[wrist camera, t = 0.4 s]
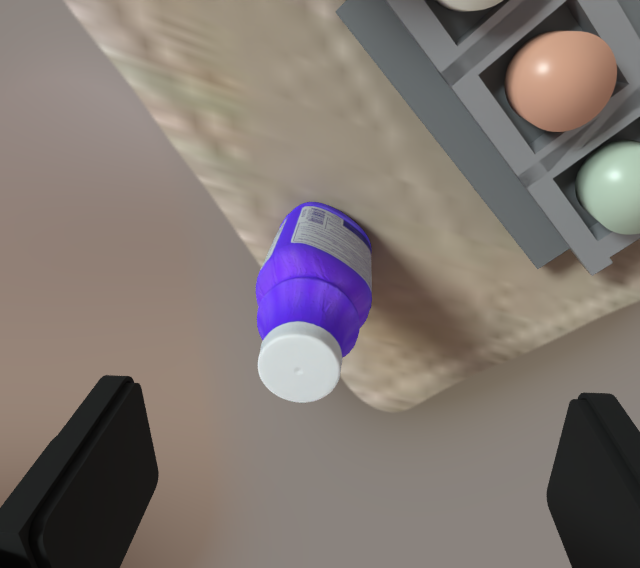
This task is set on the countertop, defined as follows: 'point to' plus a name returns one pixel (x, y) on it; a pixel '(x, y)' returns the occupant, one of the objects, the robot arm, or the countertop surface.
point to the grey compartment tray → (508, 107)
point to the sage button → (612, 186)
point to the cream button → (468, 4)
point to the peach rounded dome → (561, 79)
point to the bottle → (312, 301)
